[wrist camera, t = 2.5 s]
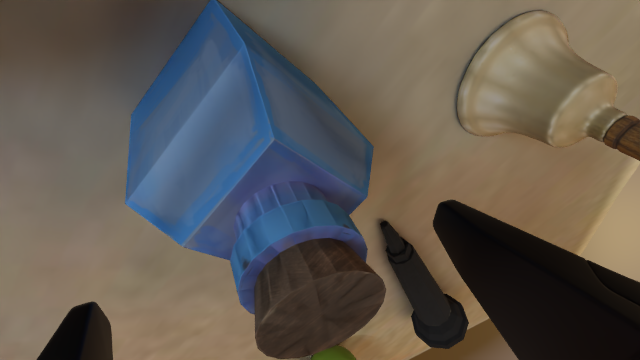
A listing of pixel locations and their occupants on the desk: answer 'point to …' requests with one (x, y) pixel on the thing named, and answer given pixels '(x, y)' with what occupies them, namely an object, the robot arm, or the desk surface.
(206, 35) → the perfume bottle
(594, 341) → the robot arm
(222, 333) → the desk surface
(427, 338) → the microphone
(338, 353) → the snail figurine
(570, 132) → the hand bell
